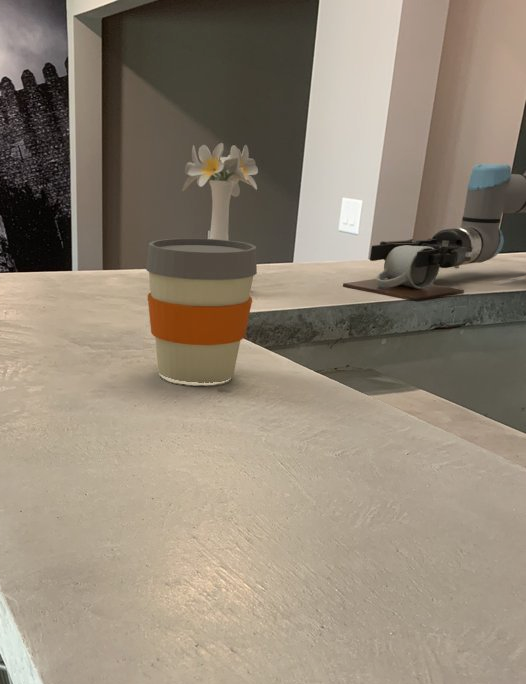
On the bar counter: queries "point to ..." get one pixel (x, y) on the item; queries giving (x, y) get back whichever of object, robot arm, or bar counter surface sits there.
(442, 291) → the placemat
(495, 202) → the robot arm
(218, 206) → the flower vase
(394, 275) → the ceramic mug
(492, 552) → the bar counter surface
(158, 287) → the reusable coffee cup
